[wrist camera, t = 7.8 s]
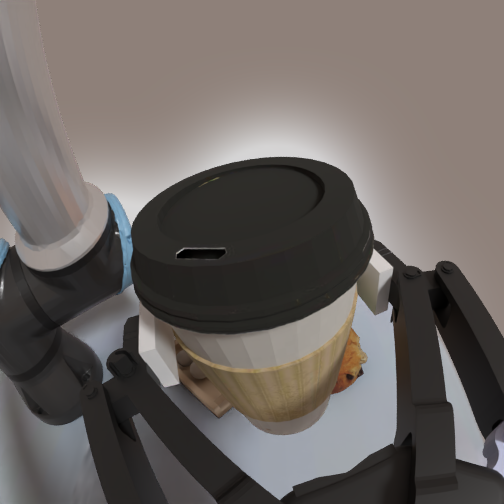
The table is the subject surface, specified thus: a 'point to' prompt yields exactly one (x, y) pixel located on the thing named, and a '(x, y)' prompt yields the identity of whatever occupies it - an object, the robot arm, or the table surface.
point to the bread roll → (350, 363)
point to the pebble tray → (199, 383)
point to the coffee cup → (258, 280)
